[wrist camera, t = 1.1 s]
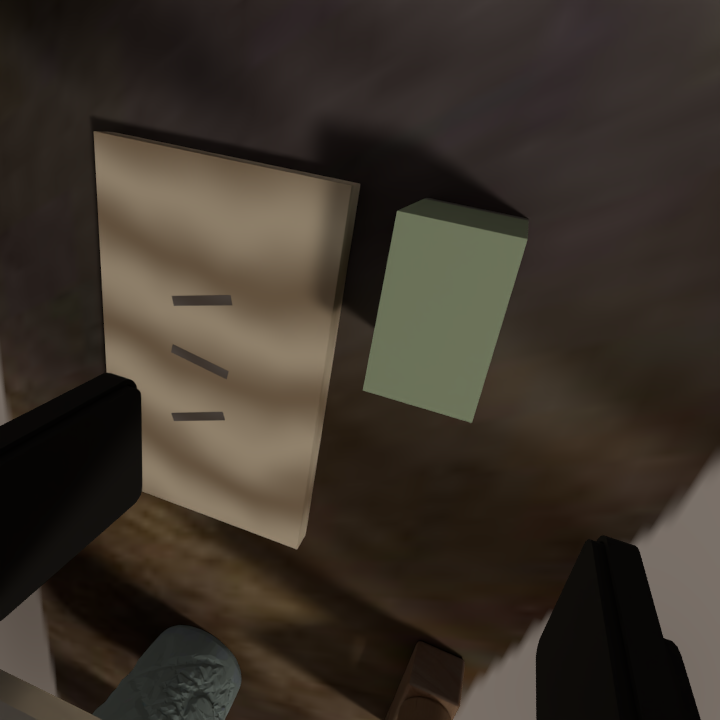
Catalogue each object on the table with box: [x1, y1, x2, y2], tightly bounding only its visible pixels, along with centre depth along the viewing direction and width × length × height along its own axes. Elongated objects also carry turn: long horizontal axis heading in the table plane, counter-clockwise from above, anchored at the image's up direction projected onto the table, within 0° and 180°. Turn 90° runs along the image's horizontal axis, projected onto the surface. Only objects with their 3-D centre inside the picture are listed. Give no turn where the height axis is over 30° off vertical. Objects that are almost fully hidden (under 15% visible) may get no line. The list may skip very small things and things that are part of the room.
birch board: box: [94, 131, 360, 549], centre depth 32 cm, size 24×15×2 cm, turn 170°
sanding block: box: [363, 198, 528, 423], centre depth 24 cm, size 8×5×6 cm, turn 170°
